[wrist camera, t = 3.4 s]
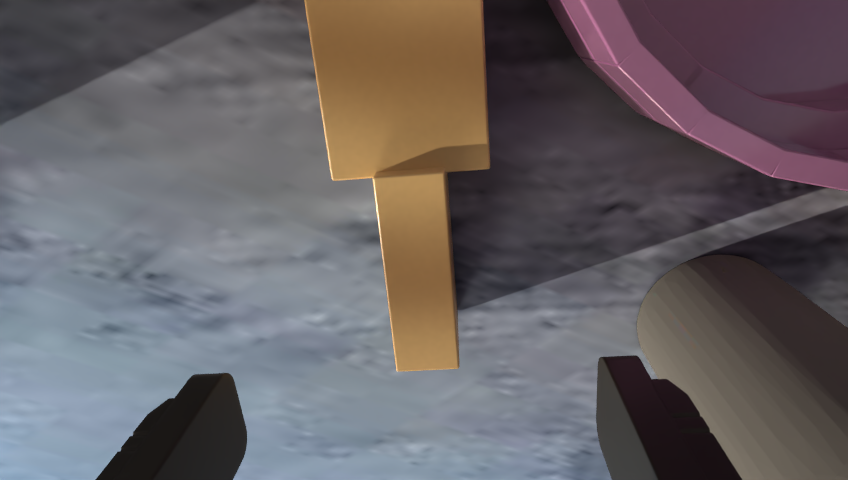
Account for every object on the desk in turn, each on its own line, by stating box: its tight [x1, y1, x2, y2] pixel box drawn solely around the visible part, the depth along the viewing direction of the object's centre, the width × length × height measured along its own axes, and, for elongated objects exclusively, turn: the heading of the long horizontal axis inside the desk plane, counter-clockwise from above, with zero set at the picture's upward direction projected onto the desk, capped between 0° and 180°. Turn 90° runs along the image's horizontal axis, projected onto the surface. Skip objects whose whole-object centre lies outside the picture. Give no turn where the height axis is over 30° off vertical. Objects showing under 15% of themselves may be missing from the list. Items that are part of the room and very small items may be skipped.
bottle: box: [637, 255, 848, 480], centre depth 15 cm, size 6×6×15 cm
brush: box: [304, 0, 490, 371], centre depth 18 cm, size 12×5×4 cm, turn 5°
